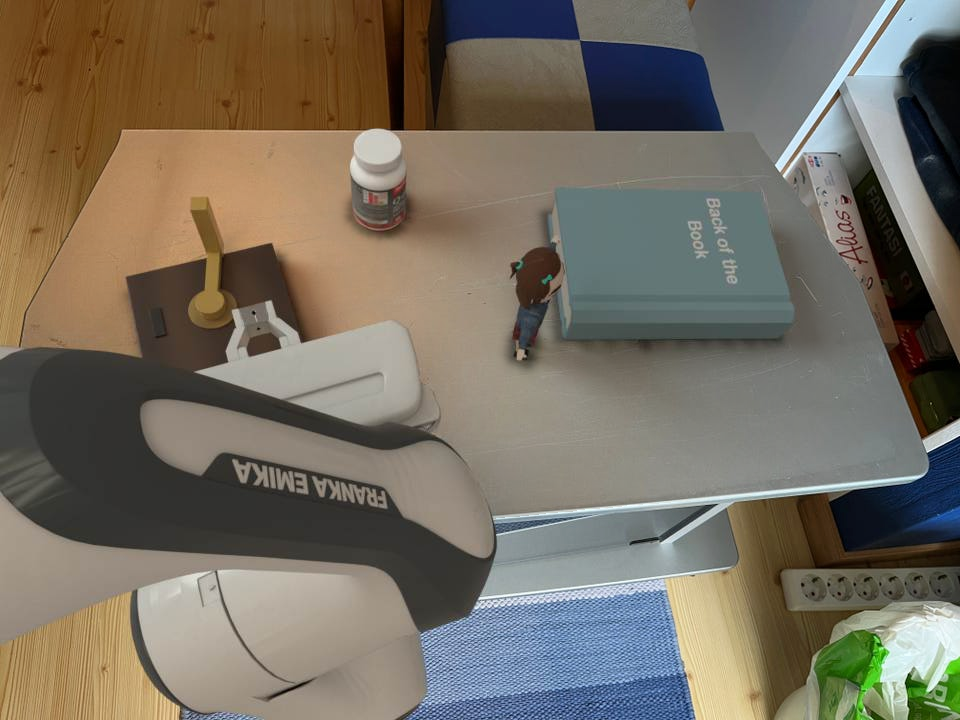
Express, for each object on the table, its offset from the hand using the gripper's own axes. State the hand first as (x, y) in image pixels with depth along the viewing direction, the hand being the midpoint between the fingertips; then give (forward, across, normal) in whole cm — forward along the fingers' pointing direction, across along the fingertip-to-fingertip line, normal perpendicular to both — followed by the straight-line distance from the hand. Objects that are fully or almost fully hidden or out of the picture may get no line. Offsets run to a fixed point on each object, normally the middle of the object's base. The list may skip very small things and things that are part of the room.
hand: (252, 308), depth 55 cm
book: (+2, -41, +17) cm, 45 cm away
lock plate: (+10, +4, +17) cm, 20 cm away
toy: (-1, -23, +17) cm, 29 cm away
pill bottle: (+19, -15, +17) cm, 30 cm away
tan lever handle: (+13, +3, +14) cm, 19 cm away
